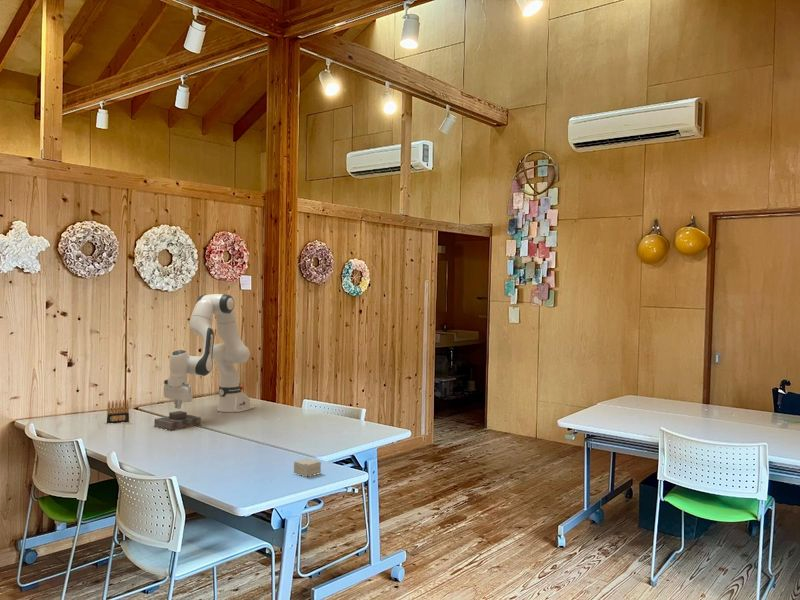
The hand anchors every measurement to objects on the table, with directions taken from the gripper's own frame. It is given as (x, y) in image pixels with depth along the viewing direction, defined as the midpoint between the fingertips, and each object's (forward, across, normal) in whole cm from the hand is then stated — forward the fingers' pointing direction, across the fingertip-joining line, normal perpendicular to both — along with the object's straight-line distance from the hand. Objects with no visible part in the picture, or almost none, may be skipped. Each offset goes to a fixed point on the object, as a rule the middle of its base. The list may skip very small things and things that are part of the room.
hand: (177, 408), depth 328 cm
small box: (+10, -108, +16) cm, 109 cm away
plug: (+8, 0, 0) cm, 8 cm away
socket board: (+9, 0, 0) cm, 9 cm away
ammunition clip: (+10, +29, +16) cm, 34 cm away
